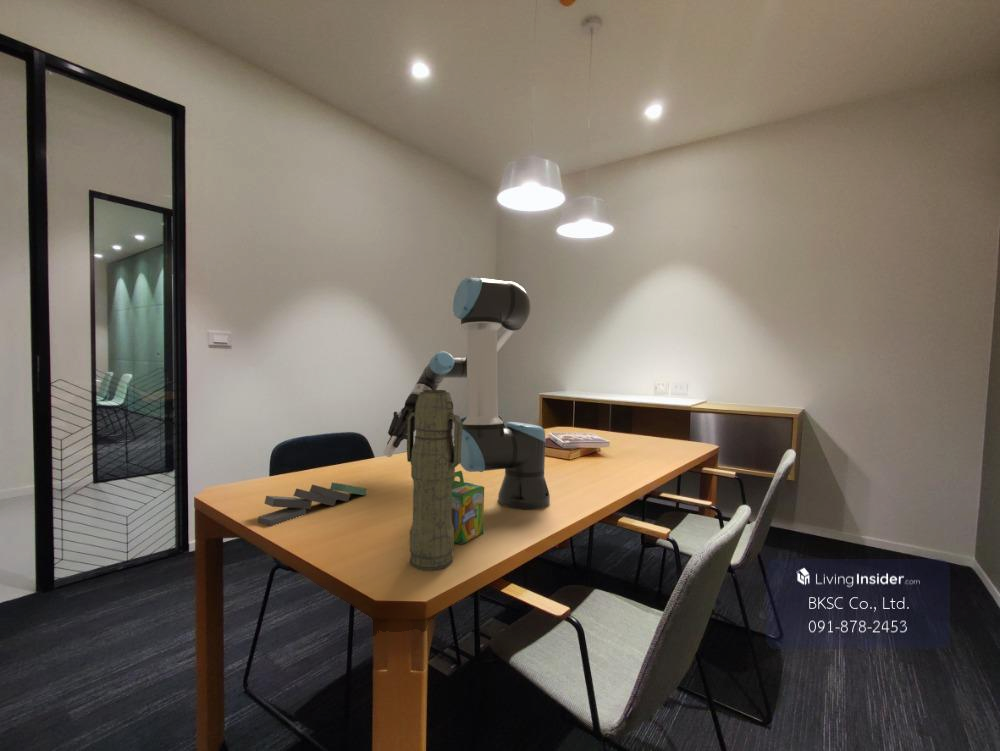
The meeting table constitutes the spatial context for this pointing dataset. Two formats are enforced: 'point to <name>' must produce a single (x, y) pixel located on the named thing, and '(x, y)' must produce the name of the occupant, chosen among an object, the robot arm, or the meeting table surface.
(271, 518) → the domino
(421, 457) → the thermos
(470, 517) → the chalk box
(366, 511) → the meeting table surface
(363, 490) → the green domino
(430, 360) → the robot arm
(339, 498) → the domino
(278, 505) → the domino
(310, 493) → the domino
